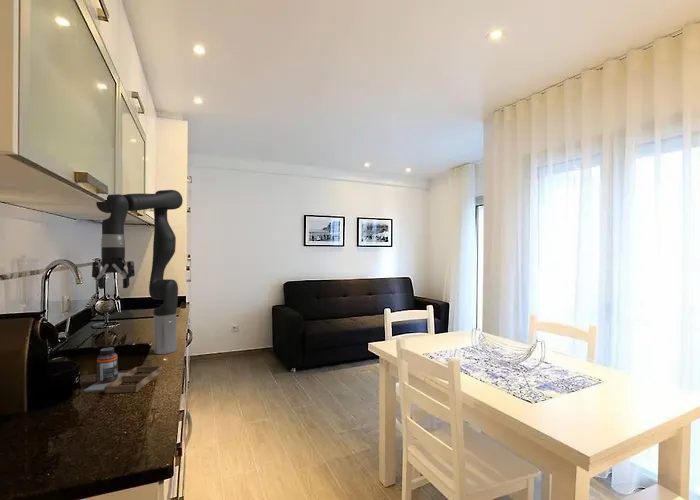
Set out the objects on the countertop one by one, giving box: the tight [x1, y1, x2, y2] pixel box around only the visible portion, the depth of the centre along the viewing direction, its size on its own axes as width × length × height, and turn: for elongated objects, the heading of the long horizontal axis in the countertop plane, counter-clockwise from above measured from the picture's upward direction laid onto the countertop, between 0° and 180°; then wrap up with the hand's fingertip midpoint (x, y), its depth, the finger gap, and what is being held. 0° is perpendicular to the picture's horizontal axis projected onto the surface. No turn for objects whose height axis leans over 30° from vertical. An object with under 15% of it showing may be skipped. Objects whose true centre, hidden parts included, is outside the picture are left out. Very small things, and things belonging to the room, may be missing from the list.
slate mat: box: [83, 372, 127, 393], centre depth 123 cm, size 16×6×1 cm, turn 6°
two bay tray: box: [104, 365, 164, 394], centre depth 124 cm, size 20×10×2 cm, turn 6°
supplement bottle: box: [96, 346, 119, 383], centre depth 123 cm, size 6×6×11 cm
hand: (113, 288), depth 134 cm, fingers open, 8 cm apart
